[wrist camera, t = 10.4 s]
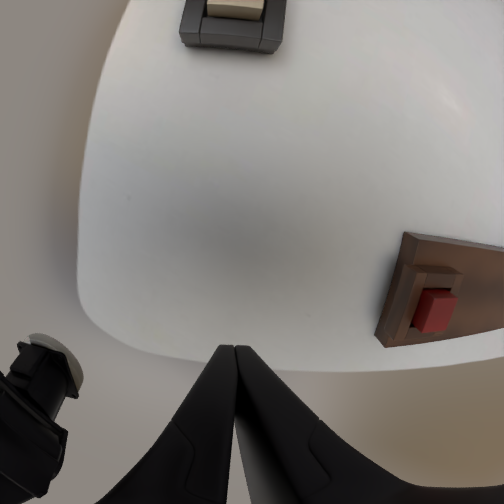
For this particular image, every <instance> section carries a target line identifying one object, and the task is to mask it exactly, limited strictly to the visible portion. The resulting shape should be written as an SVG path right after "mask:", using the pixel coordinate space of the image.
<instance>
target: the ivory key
mask: <svg viewBox="0 0 504 504" xmlns="http://www.w3.org/2000/svg"><path fill="white" fill-rule="evenodd" d="M263 4H264V0H208V1H207V12H208V16H209V17H225V18H237V19H246V20H254V21H259V19H260V16H261V13H262V10H263Z"/></svg>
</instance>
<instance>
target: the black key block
mask: <svg viewBox="0 0 504 504" xmlns="http://www.w3.org/2000/svg"><path fill="white" fill-rule="evenodd" d="M207 1H208V0H186V3H185V7H184V11H183V15H182V20H181V24H180V29H179V34H180V37H181V40H182V43H184V44H185V46H195V47H215V48H229V49H239V50H248V51H256V52H263V53H270V54H273V53H274V51H277V49H278V47H279V46H280V44H281V42H282V38H283V28H284V19H285V10H286V1H287V0H264V4H263V10H262V13H261V16H260V19H259V21H254V20H246V19H237V18H225V17H209V16H208V12H207Z"/></svg>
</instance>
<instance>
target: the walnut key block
mask: <svg viewBox="0 0 504 504" xmlns="http://www.w3.org/2000/svg"><path fill="white" fill-rule="evenodd" d="M423 289H447V290H448V291H449V292H451V293H452V294H453V295H455V296H456V297H457V298H458V300H457V303H456V306H455V308H454V311H453V314H452V316H451V319H450V321H449V324H448V326H447V328H446V330H444V331H436V332H428V333H421V332H420V331H419V330H418V329H417V328H416V327H415V326H414V325H413V324H412V323H411V321H412V319H413V316H414V313H415V310H416V308H417V305H418V302H419V299H420V296H421V293H422V290H423ZM501 328H504V248H502V247H496V246H491V245H485V244H479V243H474V242H468V241H462V240H456V239H449V238H443V237H437V236H430V235H423V234H417V233H410V232H404V235H403V239H402V244H401V248H400V252H399V256H398V260H397V264H396V268H395V271H394V275H393V279H392V282H391V285H390V289H389V292H388V296H387V299H386V302H385V305H384V308H383V311H382V314H381V317H380V320H379V323H378V326H377V329H376V332H375V336H376V337H377V339H378V340H379V341H380V343H381V344H382V345H383V346H384V348H388V347H397V346H406V345H413V344H421V343H428V342H434V341H441V340H447V339H452V338H458V337H463V336H468V335H473V334H478V333H483V332H488V331H492V330H496V329H501Z"/></svg>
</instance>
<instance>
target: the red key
mask: <svg viewBox="0 0 504 504" xmlns="http://www.w3.org/2000/svg"><path fill="white" fill-rule="evenodd" d="M457 300H458V298H457V297H456V296H455V295H453V294H452V293H451V292H449V291H448V290H447V289H423V290H422V293H421V296H420V299H419V302H418V305H417V308H416V310H415V313H414V316H413V319H412V321H411V323H412V324H413V325H414V326H415V327H416V328H417V329H418V330H419V331H420V332H421V333H428V332H436V331H444V330H446V328H447V326H448V324H449V321H450V319H451V316H452V314H453V311H454V308H455V306H456V303H457Z"/></svg>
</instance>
